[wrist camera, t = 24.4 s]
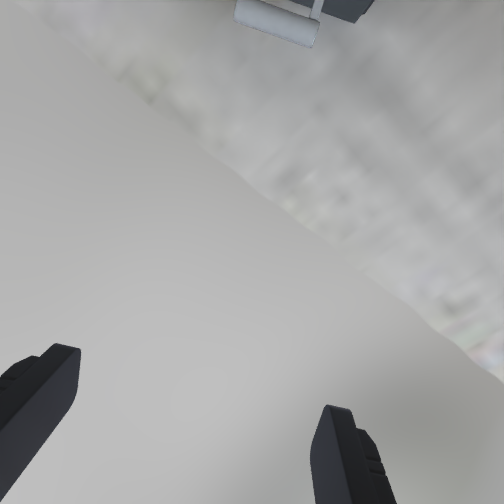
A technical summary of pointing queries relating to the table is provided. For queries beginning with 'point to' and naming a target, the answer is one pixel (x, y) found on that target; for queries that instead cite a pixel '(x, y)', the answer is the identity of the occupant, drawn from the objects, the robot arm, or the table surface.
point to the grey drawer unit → (295, 17)
